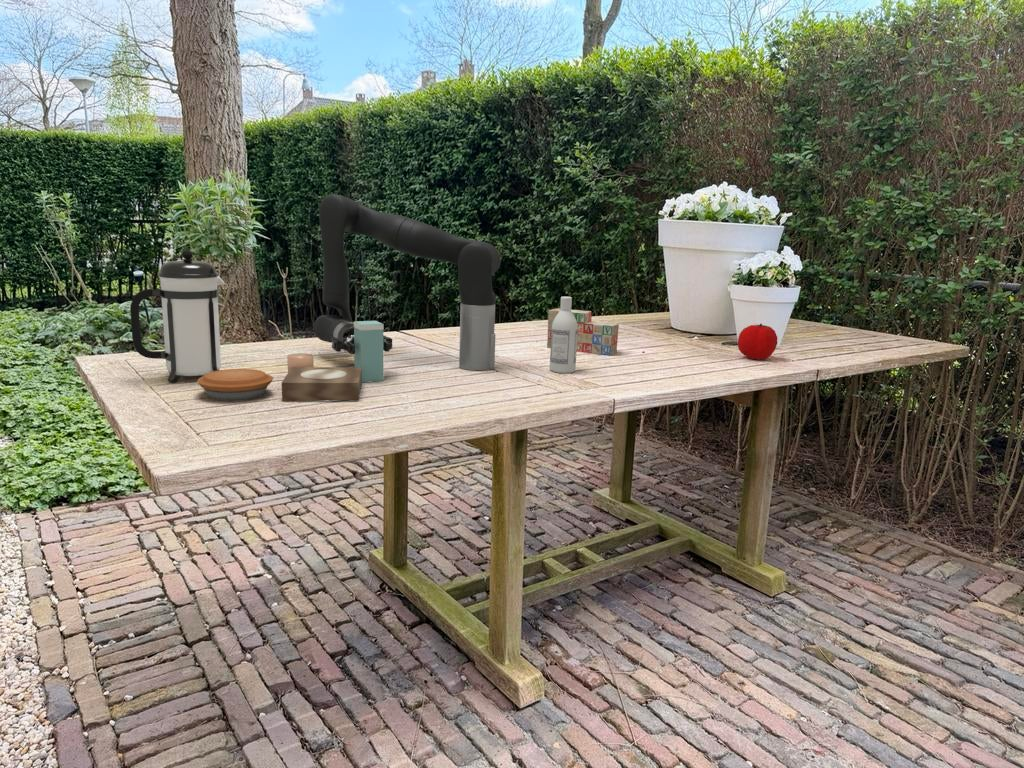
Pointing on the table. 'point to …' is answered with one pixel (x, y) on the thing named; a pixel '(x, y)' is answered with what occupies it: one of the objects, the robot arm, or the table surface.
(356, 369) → the tissue box
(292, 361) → the beige block
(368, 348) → the carton
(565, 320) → the bath foam
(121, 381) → the table surface
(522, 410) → the table surface
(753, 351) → the tomato
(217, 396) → the pie
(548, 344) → the stack of blocks
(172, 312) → the coffee press
